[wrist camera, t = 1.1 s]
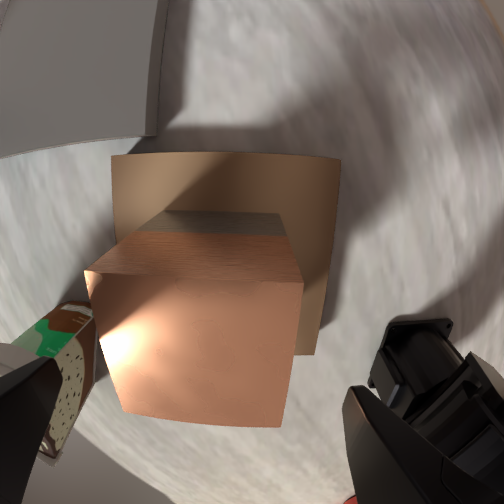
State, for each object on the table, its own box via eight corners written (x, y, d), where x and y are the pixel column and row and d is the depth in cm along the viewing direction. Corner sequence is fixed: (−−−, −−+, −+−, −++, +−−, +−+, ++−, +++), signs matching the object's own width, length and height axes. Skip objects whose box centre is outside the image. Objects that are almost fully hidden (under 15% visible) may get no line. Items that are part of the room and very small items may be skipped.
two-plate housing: (278, 213, 15) (304, 282, 7) (271, 315, 17) (280, 427, 9) (163, 210, 15) (83, 270, 7) (169, 310, 17) (123, 411, 9)
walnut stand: (331, 158, 16) (341, 159, 14) (309, 337, 20) (314, 355, 18) (126, 154, 16) (111, 155, 14) (141, 327, 20) (132, 343, 18)
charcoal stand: (178, -47, 11) (171, -62, 9) (157, 135, 15) (144, 134, 13) (23, 5, 10) (10, -1, 9) (1, 158, 15) (-16, 161, 13)
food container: (40, 259, 18) (-48, 324, 9) (103, 290, 19) (25, 383, 9) (43, 364, 22) (-5, 431, 13) (94, 392, 23) (54, 470, 13)
